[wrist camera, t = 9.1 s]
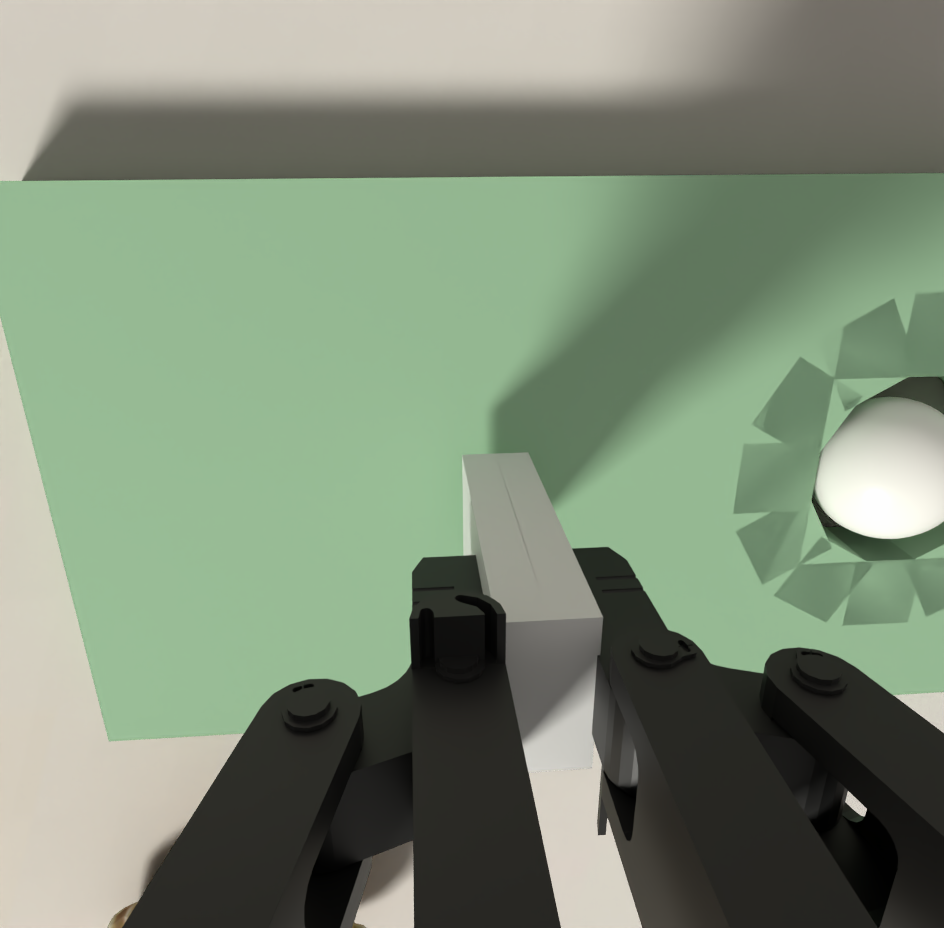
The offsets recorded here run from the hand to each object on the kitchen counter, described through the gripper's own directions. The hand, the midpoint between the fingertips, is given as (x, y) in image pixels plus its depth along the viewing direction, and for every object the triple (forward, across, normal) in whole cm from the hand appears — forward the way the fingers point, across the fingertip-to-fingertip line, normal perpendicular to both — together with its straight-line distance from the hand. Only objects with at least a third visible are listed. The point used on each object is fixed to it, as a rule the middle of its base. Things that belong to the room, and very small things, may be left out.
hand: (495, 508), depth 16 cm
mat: (+3, +4, 0) cm, 5 cm away
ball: (+1, +10, 0) cm, 10 cm away
